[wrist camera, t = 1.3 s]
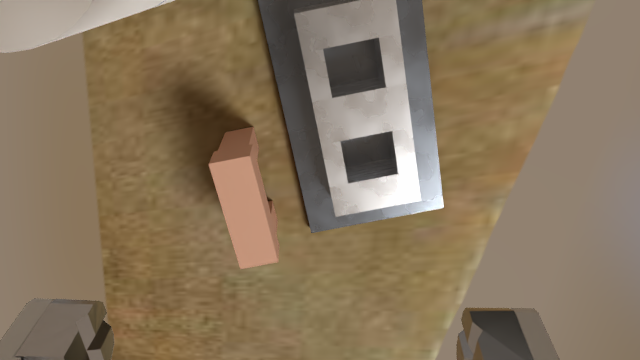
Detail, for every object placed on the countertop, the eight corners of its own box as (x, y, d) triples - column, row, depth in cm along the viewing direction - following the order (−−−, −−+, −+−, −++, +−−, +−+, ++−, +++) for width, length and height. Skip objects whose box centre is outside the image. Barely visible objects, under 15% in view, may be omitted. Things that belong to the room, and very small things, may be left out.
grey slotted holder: (441, 203, 46) (455, 226, 42) (311, 228, 46) (312, 253, 42) (412, -61, 37) (426, -64, 33) (252, -27, 37) (247, -26, 34)
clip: (280, 219, 46) (278, 262, 39) (248, 225, 46) (240, 269, 39) (256, 125, 42) (249, 155, 36) (221, 133, 42) (208, 164, 36)
